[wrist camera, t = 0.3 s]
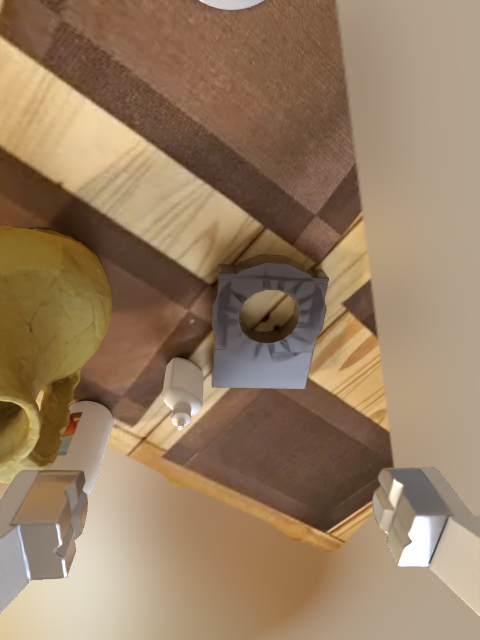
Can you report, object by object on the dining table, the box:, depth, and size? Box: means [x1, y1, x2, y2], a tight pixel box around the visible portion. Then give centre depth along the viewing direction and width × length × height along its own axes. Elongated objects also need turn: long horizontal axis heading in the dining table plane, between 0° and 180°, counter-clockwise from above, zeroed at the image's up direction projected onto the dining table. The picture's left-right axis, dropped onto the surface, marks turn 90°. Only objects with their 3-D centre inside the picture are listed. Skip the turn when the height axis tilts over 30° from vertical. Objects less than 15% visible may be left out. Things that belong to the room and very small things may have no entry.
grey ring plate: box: [211, 255, 329, 389], centre depth 52 cm, size 20×15×3 cm
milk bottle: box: [46, 401, 113, 498], centre depth 51 cm, size 8×8×20 cm
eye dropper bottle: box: [162, 357, 203, 430], centre depth 51 cm, size 4×6×12 cm
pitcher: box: [0, 225, 112, 484], centre depth 37 cm, size 17×19×25 cm
